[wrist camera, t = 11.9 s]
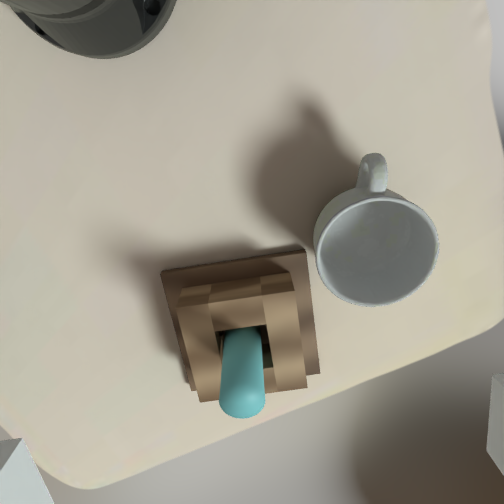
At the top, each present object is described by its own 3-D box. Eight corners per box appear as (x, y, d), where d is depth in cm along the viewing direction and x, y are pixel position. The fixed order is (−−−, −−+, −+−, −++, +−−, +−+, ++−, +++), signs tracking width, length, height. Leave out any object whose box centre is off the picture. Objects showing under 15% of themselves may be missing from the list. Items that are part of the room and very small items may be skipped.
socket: (162, 270, 44) (150, 293, 39) (305, 249, 43) (312, 269, 38) (192, 385, 49) (186, 418, 44) (318, 368, 49) (327, 399, 44)
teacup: (392, 278, 44) (421, 314, 37) (297, 269, 44) (308, 304, 36) (424, 153, 40) (466, 165, 32) (318, 141, 39) (335, 151, 31)
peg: (222, 312, 45) (215, 384, 33) (257, 308, 44) (262, 379, 33) (228, 342, 46) (223, 420, 35) (262, 338, 46) (267, 415, 35)
